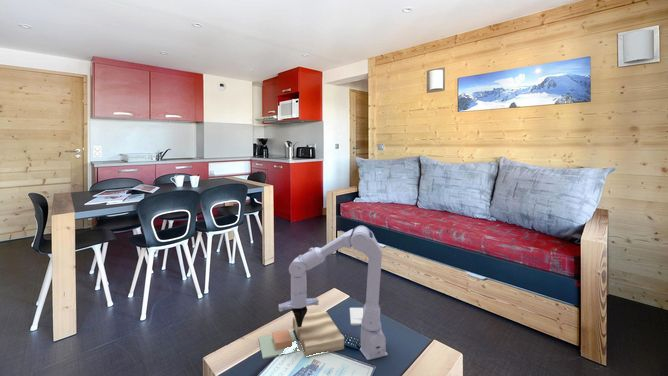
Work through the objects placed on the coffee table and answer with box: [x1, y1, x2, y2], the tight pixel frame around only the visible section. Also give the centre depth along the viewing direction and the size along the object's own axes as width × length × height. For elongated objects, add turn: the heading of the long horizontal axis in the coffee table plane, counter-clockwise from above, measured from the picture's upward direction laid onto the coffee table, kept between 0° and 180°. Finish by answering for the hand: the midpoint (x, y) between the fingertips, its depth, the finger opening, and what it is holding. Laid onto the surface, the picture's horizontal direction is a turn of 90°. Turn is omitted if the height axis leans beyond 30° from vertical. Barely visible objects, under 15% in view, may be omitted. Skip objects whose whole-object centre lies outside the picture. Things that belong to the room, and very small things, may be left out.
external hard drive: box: [349, 307, 363, 327], centre depth 132 cm, size 2×8×12 cm
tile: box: [271, 329, 292, 350], centre depth 113 cm, size 7×6×2 cm
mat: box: [258, 330, 301, 360], centre depth 112 cm, size 12×13×1 cm
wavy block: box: [292, 310, 345, 357], centre depth 117 cm, size 20×14×4 cm
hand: (299, 325), depth 114 cm, fingers closed
